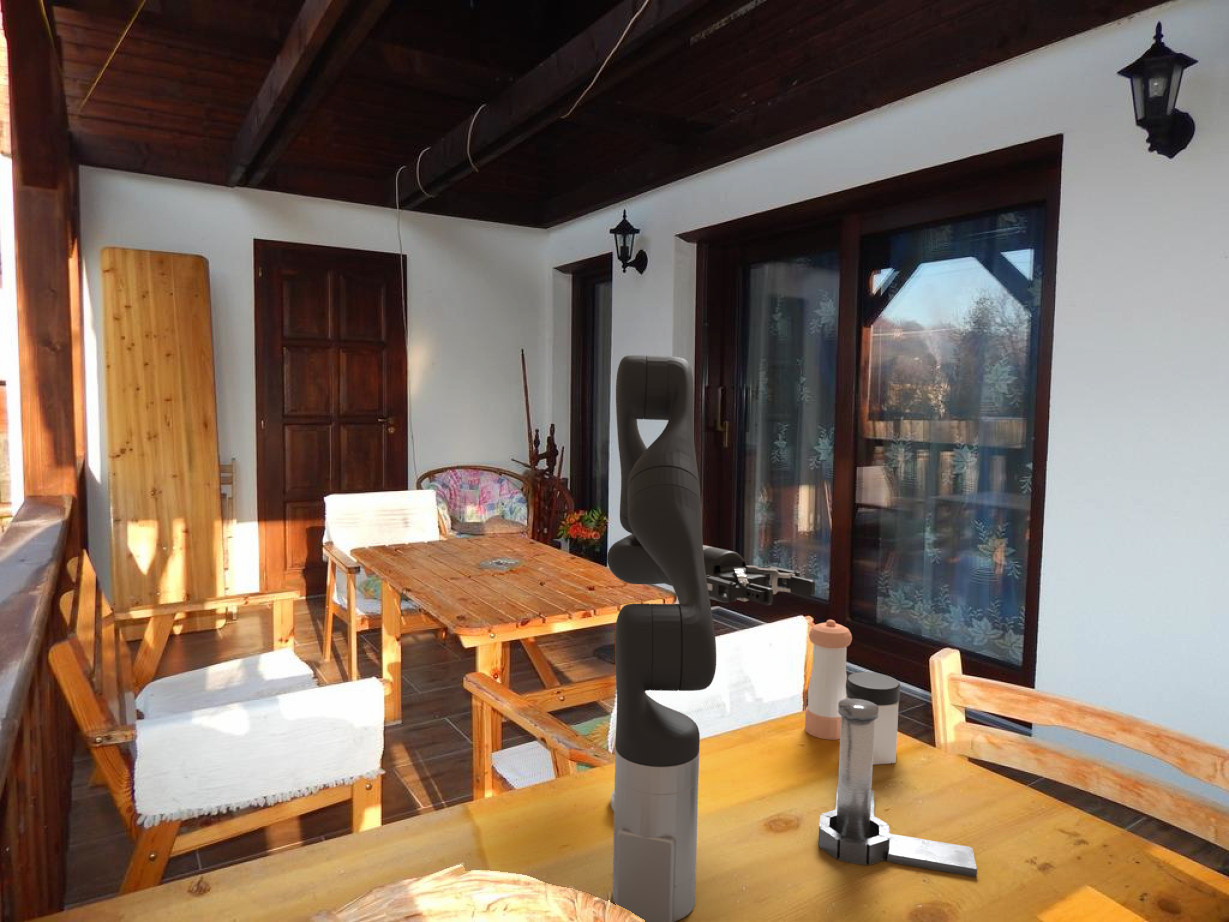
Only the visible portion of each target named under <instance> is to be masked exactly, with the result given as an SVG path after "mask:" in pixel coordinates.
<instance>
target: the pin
mask: <svg viewBox="0 0 1229 922" xmlns="http://www.w3.org/2000/svg"><path fill="white" fill-rule="evenodd" d="M838 713H839V714H840V715H841V733H840V739H839V755H838V756H839V757H838V758H839V759H838V761H839V762H838V763H839V764H838V781H837V782H838V784H837V785H838V801H837V824H836V832H837V833H839V834H840V835H842V836H844V837H850V838H856V839H862V840H866V839H869V831H870V810H871V790H873V789H872V788H873V787H872V785H873V766H874V765H873V746H874V725H875V719H877V718H878V713H879V707H878V706H877V705H876V704H874V703H872V702H870V701H866V700H862V699H844V700H841V701H839V703H838Z"/></svg>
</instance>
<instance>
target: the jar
mask: <svg viewBox="0 0 1229 922" xmlns="http://www.w3.org/2000/svg"><path fill="white" fill-rule="evenodd" d="M846 694H847V695H846V699H862V700H866V701H870V702H872V703H874V704H876V705H877V706H878V707H879V713H878V718H877V719H875V725H874V746H873V766H875V765H889V764H890V765H891V763H892V764H896V762H897V746H898V745H897V742H898V726H899V725H898V723H899V722H898V720H899V703H900V697H901V696H900V694H901V683H900V681H899V680H897V679H896V678H894V677H893V676H890V675H888V674H882V673H878V672H871V671H869V672H868V671H866V672H865V671H861V672H854V673H851V674H848V675H847V679H846Z"/></svg>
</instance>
